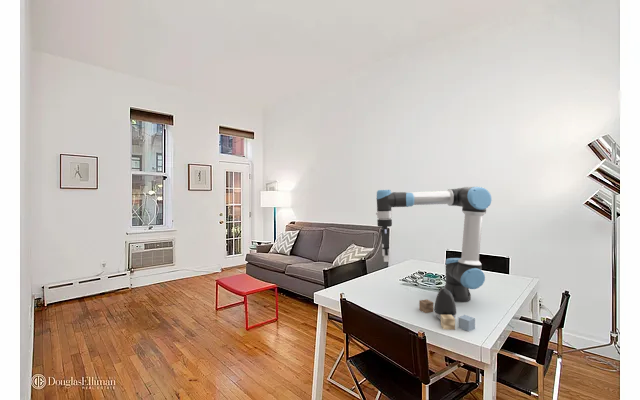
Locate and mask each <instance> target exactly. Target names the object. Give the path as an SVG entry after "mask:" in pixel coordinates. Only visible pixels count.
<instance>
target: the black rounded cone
mask: <svg viewBox="0 0 640 400" xmlns="http://www.w3.org/2000/svg"><path fill="white" fill-rule="evenodd" d="M439 289H440V290H438V292H437V294H436V298H435V301H434V305H433V312H434V313H435V316H436V318H437V319H438V320H440V321H441V315H452V316H453V317H454V318H456V315H457V306H456V305H457V304H456V301H454V298H453V295H452V293H451V292H450V290H448V289H446V288H444V287H442V286H440V287H439Z"/></svg>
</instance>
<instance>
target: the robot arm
mask: <svg viewBox="0 0 640 400" xmlns="http://www.w3.org/2000/svg"><path fill="white" fill-rule="evenodd" d="M492 201H493V200H492V195H491V192H490V191H488V190H487V189H486V188H485V187H482V186H481V187H480V186H464V187H458V188H449V189H448V188H447V190H438V191H436V190H435V191H433V190H431V191H404V192H403V191H402V192H401V191H399V192H397V191H395V192H394V191H393V192H392V191H391V189H378V190H377V191H376V211H377V212H376V213H375V215H377V220H376V221H377V227H378V228H379V227H380V228H381V229H380V234H381V252H382V257H383V262H384V263H385V262H387V263H389V262H390V242H389V241H390V240H389V238H390V235H389V234H390V230H389V229H388V228H389V227H392V226H393V221H392V218H393V216H392V215H393V214H392V212H393V210H392V208H409V207H413V206H419V205H420V206H422V205H423V206H424V205H425V206H427V205H429V206H430V205H447V206H449V207H451V206H452V207H461V209H462V210H461V211H462V213H463V214H464V221H463V222H464V223H463V231H462V232H463V233H462V245H461V246H462V247H461V256H460V257H450V258H446V260H445V265H444V266H445V285H444V287H443V288H446V289H448V290H450V292H451V293H452V295H453V298H454V301H455V303H457V302H459V303H462V302H463V303H464V302H465V303H466V302H469V301H471V299H472V296H471V292H470V290H477V289H479V288H480V287H482V286H483V285H484V283H485V280H486V276H485V273H484V272H483V270H482V263H481V261H480V250H481V240H482V239H481V238H482V237H481V236H482V228H483V227H482V226H483V216H484V215H485V214H486V213H487V208H489V207H490V206H491V204H492Z"/></svg>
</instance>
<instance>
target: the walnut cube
mask: <svg viewBox="0 0 640 400" xmlns="http://www.w3.org/2000/svg"><path fill="white" fill-rule="evenodd" d="M418 305H419V309H418V310H420V311H421V312H422V311H423V313H425V314H428V313H434V302H433V301H431V300H429V299H420V300H419V302H418Z"/></svg>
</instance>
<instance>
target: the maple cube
mask: <svg viewBox="0 0 640 400" xmlns="http://www.w3.org/2000/svg"><path fill="white" fill-rule="evenodd" d="M440 326H441V328H442V329H443V330H444V331H445V330H447V331H450V330H454V331H455V330H456V319H455V317H453V316H452V315H441V320H440Z"/></svg>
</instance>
